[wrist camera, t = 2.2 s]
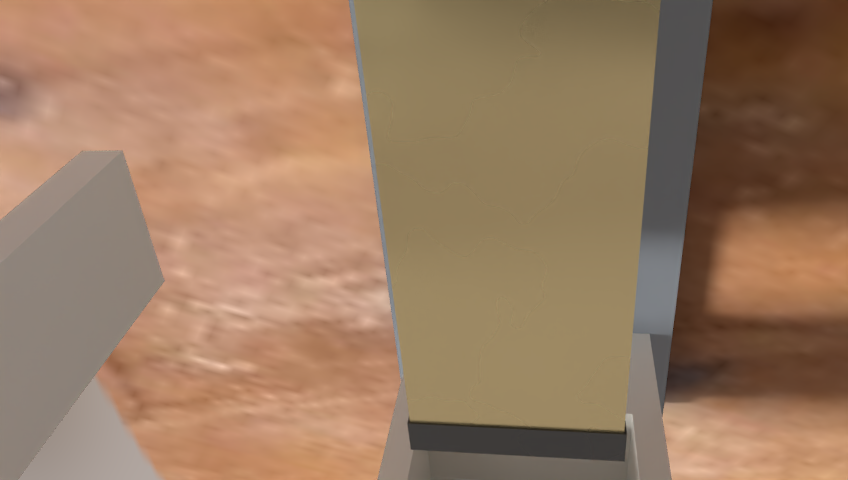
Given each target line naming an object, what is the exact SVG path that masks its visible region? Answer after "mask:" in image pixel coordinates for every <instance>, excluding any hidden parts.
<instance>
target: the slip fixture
mask: <svg viewBox="0 0 848 480" xmlns="http://www.w3.org/2000/svg"><path fill="white" fill-rule="evenodd" d="M712 4H713V0H661V2H660V14H659V26H658V38H657V50H656V62H655V73H654V85H653V97H652V109H651V121H650V133H649V145H648V157H647V168H646V180H645V192H644V204H643V216H642V228H641V240H640V251H639V263H638V275H637V287H636V299H635V311H634V323H633V334H632V346H631V358H630V370H629V382H628V394H627V406H626V418H625V420H626V430H627V440H626V451H625V462H623V461H605V460H587V459H569V458H551V457H533V456H515V455H497V454H479V453H462V452H444V451H426V450H411V447H410V440H409V433H408V425H407V423H408V418H409V411H408V403H407V396H406V388H405V381H404V374H403V366H402V359H401V351H400V344H399V336H398V329H397V321H396V314H395V306H394V299H393V291H392V284H391V276H390V269H389V261H388V254H387V247H386V239H385V232H384V224H383V217H382V209H381V202H380V194H379V187H378V179H377V172H376V164H375V157H374V149H373V142H372V134H371V127H370V119H369V112H368V105H367V97H366V90H365V82H364V75H363V67H362V60H361V52H360V45H359V37H358V30H357V22H356V15H355V7H354V0H349V6H350V13H351V20H352V27H353V35H354V42H355V49H356V57H357V64H358V71H359V78H360V86H361V93H362V100H363V108H364V115H365V122H366V129H367V137H368V144H369V151H370V159H371V166H372V173H373V180H374V188H375V195H376V202H377V210H378V217H379V224H380V231H381V239H382V246H383V253H384V261H385V268H386V275H387V282H388V290H389V297H390V304H391V312H392V319H393V326H394V333H395V341H396V348H397V355H398V363H399V370H400V377H401V384H400V388H399V392H398V396H397V400H396V404H395V409H394V413H393V417H392V421H391V425H390V430H389V434H388V438H387V442H386V446H385V450H384V455H383V459H382V463H381V467H380V471H379V475H378V480H672V478H671V472H670V465H669V458H668V452H667V445H666V439H665V432H664V426H663V419H662V416H663V408H664V399H665V391H666V383H667V375H668V366H669V358H670V350H671V342H672V333H673V325H674V317H675V309H676V300H677V292H678V284H679V276H680V267H681V259H682V251H683V243H684V235H685V226H686V218H687V210H688V202H689V193H690V185H691V177H692V169H693V160H694V152H695V144H696V136H697V127H698V119H699V111H700V103H701V95H702V86H703V78H704V70H705V62H706V53H707V45H708V37H709V29H710V20H711V12H712Z"/></svg>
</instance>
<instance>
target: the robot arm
mask: <svg viewBox="0 0 848 480" xmlns="http://www.w3.org/2000/svg"><path fill="white" fill-rule="evenodd" d="M163 282H164V278H163V275H162V272H161V269H160V266H159V263H158V259H157V256H156V253H155V250H154V247H153V244H152V241H151V238H150V235H149V231H148V228H147V225H146V222H145V219H144V216H143V213H142V210H141V207H140V203H139V200H138V197H137V194H136V191H135V188H134V185H133V182H132V179H131V176H130V172H129V169H128V166H127V163H126V160H125V157H124V154H123V151H81V152H80V153H79V154H78V155H77V156H75V157H74V158H73V159H72V160H71V161H70V162H68V163H67V164H66V165H65V166H64V167H62V168H61V169H60V170H59V171H58V172H57V173H55V174H54V175H53V176H52V177H51V178H49V179H48V180H47V181H46V182H45V183H44V184H42V185H41V186H40V187H39V188H38V189H36V190H35V191H34V192H33V193H32V194H31V195H29V196H28V197H27V198H26V199H25V200H23V201H22V202H21V203H20V204H19V205H18V206H16V207H15V208H14V209H13V210H12V211H10V212H9V213H8V214H7V215H6V216H5V217H3V218H2V219H1V220H0V480H18V479H19V478H20V476H21V475H22V474H23V472H24V471H25V469H26V468H27V467H28V465H29V464H30V462H31V461H32V460H33V459H34V457H35V456H36V455H37V453H38V452H39V450H40V449H41V448H42V446H43V445H44V444H45V442H46V441H47V439H48V438H49V437H50V436H51V434H52V433H53V432H54V430H55V429H56V427H57V426H58V425H59V423H60V422H61V421H62V419H63V418H64V417H65V415H66V414H67V412H68V411H69V410H70V408H71V407H72V405H73V404H74V403H75V402H76V400H77V399H78V398H79V396H80V395H81V393H82V392H83V391H84V389H85V388H86V387H87V385H88V384H89V383H90V381H91V380H92V379H93V377H94V376H95V375H96V373H97V372H98V370H99V369H100V368H101V366H102V365H103V364H104V362H105V361H106V360H107V358H108V357H109V356H110V354H111V353H112V351H113V350H114V349H115V347H116V346H117V345H118V343H119V342H120V341H121V339H122V338H123V337H124V335H125V334H126V332H127V331H128V330H129V328H130V327H131V326H132V324H133V323H134V322H135V320H136V319H137V318H138V316H139V315H140V314H141V312H142V311H143V309H144V308H145V307H146V305H147V304H148V303H149V301H150V300H151V299H152V297H153V296H154V295H155V293H156V292H157V290H158V289H159V288H160V286H161V285H162V284H163Z"/></svg>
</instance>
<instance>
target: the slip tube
mask: <svg viewBox="0 0 848 480" xmlns="http://www.w3.org/2000/svg"><path fill="white" fill-rule="evenodd" d="M660 2H661V0H354V7H355V15H356V22H357V30H358V37H359V45H360V52H361V60H362V67H363V75H364V82H365V90H366V97H367V105H368V112H369V119H370V127H371V134H372V142H373V149H374V157H375V164H376V172H377V179H378V187H379V194H380V202H381V209H382V217H383V224H384V232H385V239H386V247H387V254H388V261H389V269H390V276H391V284H392V291H393V299H394V306H395V314H396V321H397V329H398V336H399V344H400V351H401V359H402V366H403V374H404V381H405V388H406V396H407V403H408V411H409V418H408V423H407V425H408V433H409V440H410V447H411V450H426V451H444V452H462V453H479V454H497V455H515V456H533V457H551V458H569V459H587V460H605V461H623V462H625V451H626V440H627V430H626V420H625V418H626V406H627V394H628V382H629V370H630V358H631V346H632V334H633V323H634V311H635V299H636V287H637V275H638V263H639V251H640V240H641V228H642V216H643V204H644V192H645V180H646V168H647V157H648V145H649V133H650V121H651V109H652V97H653V85H654V73H655V62H656V50H657V38H658V26H659V14H660Z"/></svg>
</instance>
